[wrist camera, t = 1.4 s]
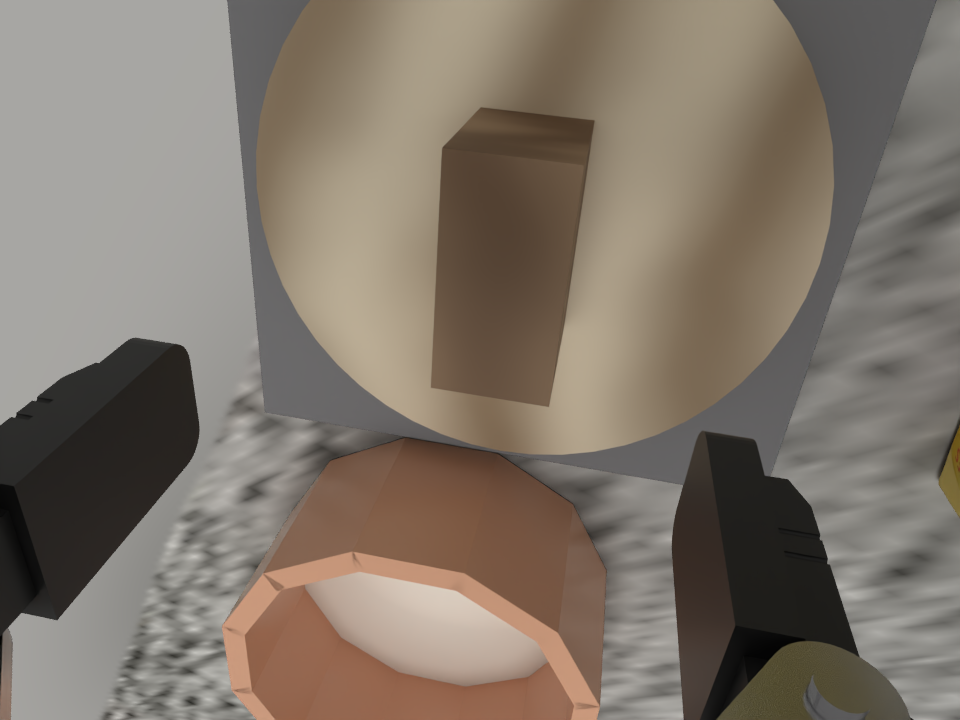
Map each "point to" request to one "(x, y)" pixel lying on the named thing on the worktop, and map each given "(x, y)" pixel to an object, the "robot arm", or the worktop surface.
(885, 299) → the worktop surface
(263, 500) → the worktop surface
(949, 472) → the candy box
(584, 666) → the bowl
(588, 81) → the lid
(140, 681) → the worktop surface
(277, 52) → the mat
